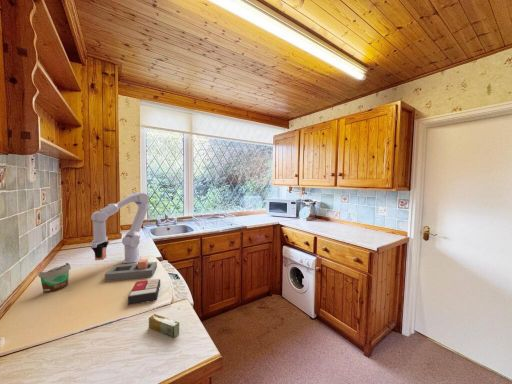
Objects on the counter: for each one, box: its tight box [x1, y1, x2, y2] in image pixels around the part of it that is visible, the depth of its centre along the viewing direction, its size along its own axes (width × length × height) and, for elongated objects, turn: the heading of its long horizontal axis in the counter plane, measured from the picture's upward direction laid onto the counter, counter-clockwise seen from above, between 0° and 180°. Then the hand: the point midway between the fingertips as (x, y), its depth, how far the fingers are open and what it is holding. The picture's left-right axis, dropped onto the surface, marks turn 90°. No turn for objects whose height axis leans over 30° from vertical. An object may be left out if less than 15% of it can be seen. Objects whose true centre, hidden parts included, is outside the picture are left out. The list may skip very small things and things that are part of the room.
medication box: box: [148, 313, 180, 339], centre depth 74 cm, size 12×3×4 cm, turn 66°
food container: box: [38, 262, 72, 294], centre depth 102 cm, size 12×6×10 cm, turn 168°
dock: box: [104, 258, 158, 282], centre depth 117 cm, size 12×22×7 cm, turn 104°
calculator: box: [127, 278, 161, 306], centre depth 98 cm, size 11×4×15 cm
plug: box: [94, 247, 107, 261], centre depth 121 cm, size 4×4×6 cm
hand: (100, 256), depth 121 cm, fingers closed on plug, 4 cm apart
